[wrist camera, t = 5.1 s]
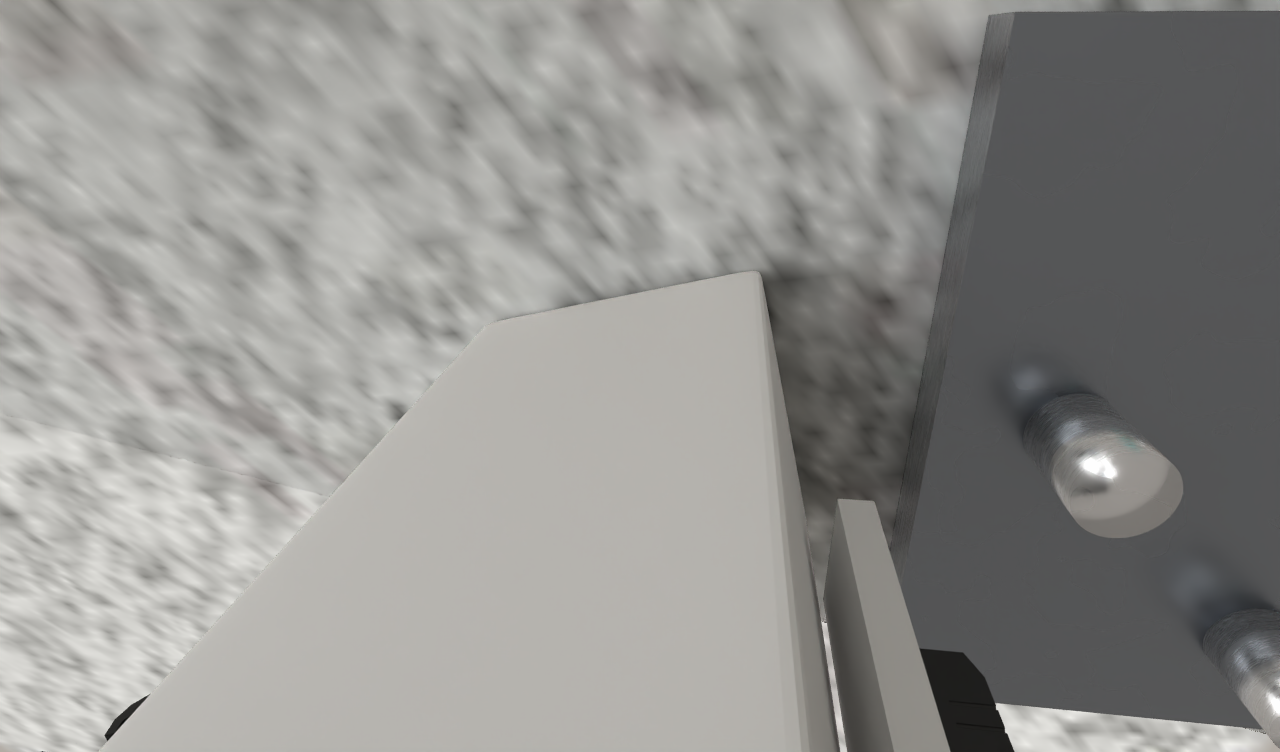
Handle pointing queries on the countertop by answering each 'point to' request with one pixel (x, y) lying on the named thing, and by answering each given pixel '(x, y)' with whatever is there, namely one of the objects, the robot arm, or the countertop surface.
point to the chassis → (1108, 373)
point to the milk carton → (542, 560)
